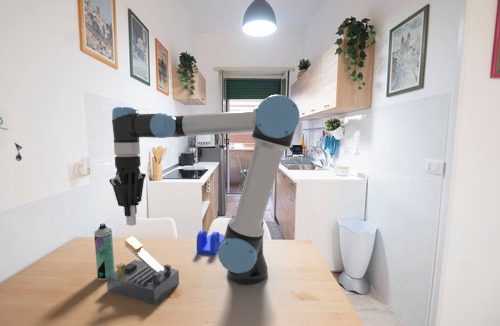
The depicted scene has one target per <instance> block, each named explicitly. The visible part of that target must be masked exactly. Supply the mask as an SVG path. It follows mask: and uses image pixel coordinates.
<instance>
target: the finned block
mask: <svg viewBox="0 0 500 326" xmlns="http://www.w3.org/2000/svg"><path fill="white" fill-rule="evenodd" d="M159 264H160V263H159ZM160 265H161V266H163V267H164V268H166V269H167V273H165V274H164V275H163V276H161V277H160V274H158V273H154V272H153V271H152V270H151V269H150V268H149V267H148V266H147V265H145V264H144V263H143V262H142V261H141V260H138V259H134V260H132V261H131V262H129V263H127V264H125V263H121V262H120V263H118V264H116V265H115V267H116V269H117V270H115V272H114V273H112V274H110V275H109V276H107V280H106V287H107V292H111V293H114V294H117V295H120V296H124V297H126V298H130V299H134V300H136V301H139V302H142V303H145V304H149V305H152V306H156V305H157V304H158V303H159V302H160V301H161V300H163V299H164V298H165V297H166V296H167V295H168V294H169V293H170V292H171V291H173V290H174V289H175V288H176V287H177V286H179V284H180V275H179V274H180V272H179V269H175V268H172V265H170V264H164V265H163V264H160Z"/></svg>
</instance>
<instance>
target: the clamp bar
mask: <svg viewBox="0 0 500 326" xmlns="http://www.w3.org/2000/svg"><path fill="white" fill-rule="evenodd" d="M124 243H125V244H124V247H126V248H127V250H129V251H130V252H131V253H132V254H133V255H134V256H135V257H137V259H139V261H142V262H143V263H144V264H145V265H147V266H148V267H149V268H150V269H151V270H152V271H153V272H154V273H158V274H160V277H161V276H163V275H164V274H165V273H167V269H166V268H164V265H162V266H161V265H160V263H159V262H158V261H157V260H156V259H155V258H154V257H153V256H151V255H150V254H149V253H148V252H147V251H146V250H145V249H144V248H143V244H142V243H141V242H139V240H138V239H136V238H135V237H134V236H130V237H129V238H127V239H125V240H124Z"/></svg>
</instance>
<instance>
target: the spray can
mask: <svg viewBox="0 0 500 326" xmlns="http://www.w3.org/2000/svg"><path fill="white" fill-rule="evenodd" d="M93 235H94V246H95V247H94V248H95V260H96V261H95V262H96V274H97V280H98V279H99V280H98V281H107V276H109V275H110V274H112V273H114V272H115V271H116V270H115V261H114V259H115V258H114V256H115V255H114V245H113V243H114V242H113V231H112V228H110V227H108V226H106V223H100V224H99V227H98V228H97V229H96V230H95V231H94V234H93Z"/></svg>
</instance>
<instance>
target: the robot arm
mask: <svg viewBox="0 0 500 326" xmlns="http://www.w3.org/2000/svg"><path fill="white" fill-rule="evenodd" d="M111 113H112V115H111V116H112V117H111V123H112V132H113V149H114V151H113V152H114V155H115V157H114V167H115V168H116V173H115V175H116V176H114V177H113V178H110V179H109V181H108V182H109V183H110V184H111V186H112V187H113V188H112V189H113V192H114V196H115V199H116V202H117V205H118V206H119V207H123V209H124V211H123V212H124V216H125V218H126V220H125V221H126V225H127V226H135V225H137V216H136V214H137V213H138V212H137V211H138V210H137V206H139V204H140V202H141V201H142V198H143V197H142V196H143V189H144V184H145V183H144V182H145V180H146V177H147V175H146V173H142V172H141V169H140V167H141V156H140V154H141V149H140V147H141V145H140V138H151V139H152V138H153V139H154V138H157V139H166V138H181V137H193V136H211V135H224V134H225V135H227V134H228V135H229V134H243V133H246V134H247V133H252V135H251V139H252V140H253V142H254V147H253V150H252V154H251V158H250V160H249V161H250V162H249V166H248V169H247V172H246V176H245V179H244V183H243V187H242V190H241V194H240V198H239V199H238V200H239V201H238V204H237V207H236V212H235V213H234V214H232V216H231V219H229V220H228V222H227V227H226V230H225V232H224V239H223V242H222V243H221V244H220V246H219V250H218V251H217V257H218V260H219V262H220V263H221V265H222V266H223V268H224V269H226V271H227V277H228V278H229V279H230V280H231V281H233V282H235V283H237V284H240V285H241V284H242V285H254V284H258V283H261V282H263V281H264V280H266V278H267V276H268V265H267V261H266V259H265V256H264V234H265V229H264V217H265V215H266V211H267V207H268V204H269V201H270V197H271V194H272V191H273V186H274V183H275V180H276V176H277V174H278V171H279V170H278V169H279V167H280V163H281V160H282V157H283V153H284V152H285V151H286V150H289V149H290V148H291V145H292V142H293V138H294V136H295V131H296V129H297V127H298V124H299V122H300V110H299V108H298V105H297V103H296V102H295V101H294V100H293V99H291V98H290V97H288V96H286V95H284V94H283V95H282V94H273V95H270V96H268V97H266V98H265V99H263V100H262V101H261V102H260V103H259V105H258V106H255V107H254V109H251V110H240V111H226V112H212V113H201V114H188V115H187V114H186V115H174V116H173V115H171V114H169V113H162V112H161V113H160V112H158V113H139V111H138V109H137V107H131V106H130V107H129V106H116V107H113V109H112V111H111Z"/></svg>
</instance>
